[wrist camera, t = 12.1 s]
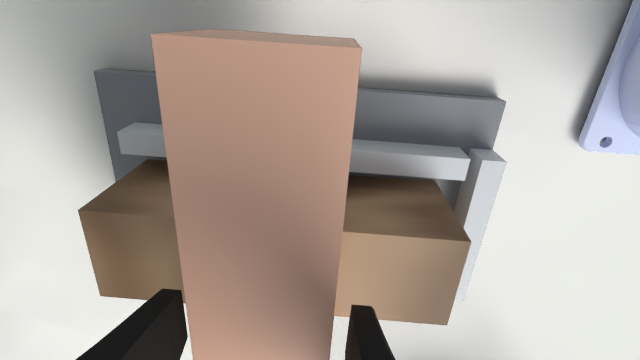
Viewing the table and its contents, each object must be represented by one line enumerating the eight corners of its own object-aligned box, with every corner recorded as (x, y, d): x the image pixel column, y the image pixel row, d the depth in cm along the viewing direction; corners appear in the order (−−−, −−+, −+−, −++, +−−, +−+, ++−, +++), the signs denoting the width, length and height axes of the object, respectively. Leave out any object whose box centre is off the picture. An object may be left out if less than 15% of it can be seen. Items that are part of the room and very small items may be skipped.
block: (320, 385, 17) (314, 498, 13) (240, 378, 17) (210, 488, 13) (352, 36, 11) (361, 48, 7) (222, 27, 11) (150, 33, 7)
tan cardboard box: (435, 181, 17) (471, 241, 12) (420, 249, 19) (446, 325, 14) (147, 159, 17) (77, 210, 13) (157, 228, 19) (100, 296, 14)
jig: (498, 97, 16) (522, 110, 14) (442, 300, 21) (453, 331, 19) (104, 68, 16) (70, 76, 14) (143, 274, 21) (122, 303, 19)
